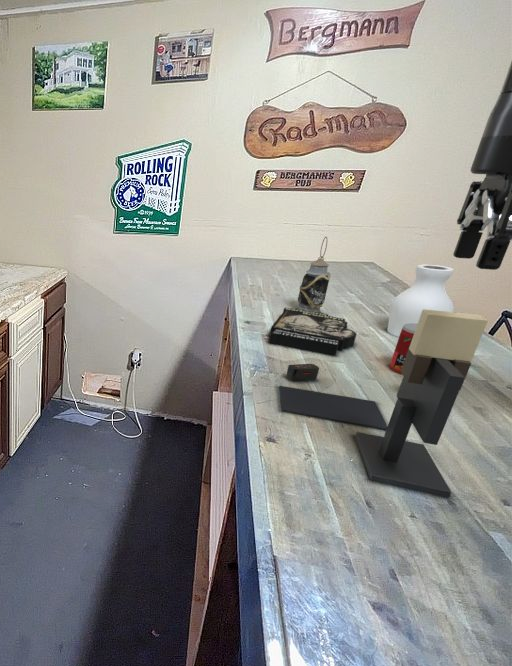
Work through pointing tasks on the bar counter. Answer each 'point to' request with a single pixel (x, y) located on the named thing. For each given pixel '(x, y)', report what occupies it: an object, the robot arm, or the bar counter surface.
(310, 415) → the mat
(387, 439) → the monitor
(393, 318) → the vase
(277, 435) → the bar counter surface
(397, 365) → the canned food
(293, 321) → the decorative sign
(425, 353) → the small wooden bench
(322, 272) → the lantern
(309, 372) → the wireless earbuds
